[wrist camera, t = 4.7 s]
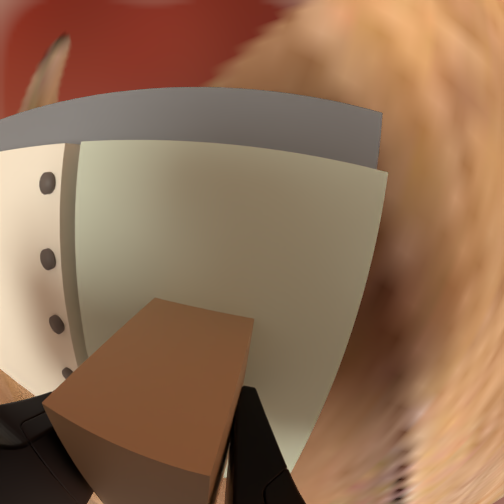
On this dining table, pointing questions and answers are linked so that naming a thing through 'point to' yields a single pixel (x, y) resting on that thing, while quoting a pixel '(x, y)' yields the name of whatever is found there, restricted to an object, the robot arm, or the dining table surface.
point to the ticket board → (65, 179)
